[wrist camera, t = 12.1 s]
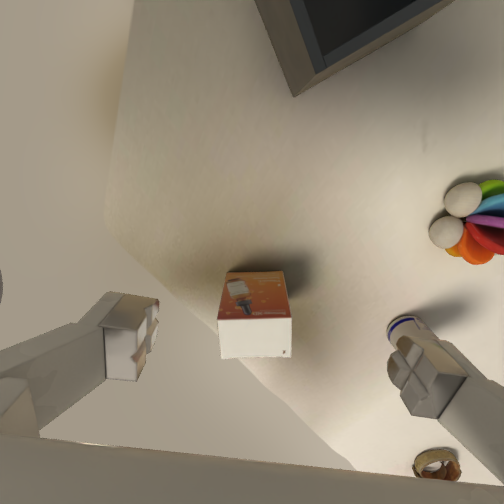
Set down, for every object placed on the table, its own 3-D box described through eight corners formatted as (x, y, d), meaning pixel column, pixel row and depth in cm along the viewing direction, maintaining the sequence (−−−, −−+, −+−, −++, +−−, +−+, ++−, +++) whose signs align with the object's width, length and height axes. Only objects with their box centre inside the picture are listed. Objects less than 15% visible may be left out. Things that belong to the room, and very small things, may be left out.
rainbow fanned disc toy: (415, 244, 35) (454, 269, 28) (451, 170, 31) (505, 178, 24) (473, 256, 35) (525, 283, 29) (515, 184, 32) (586, 196, 25)
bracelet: (413, 476, 56) (421, 494, 53) (407, 453, 52) (415, 470, 50) (455, 467, 54) (466, 484, 52) (452, 443, 51) (463, 460, 49)
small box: (283, 269, 36) (294, 317, 26) (282, 303, 38) (293, 358, 29) (225, 271, 36) (215, 319, 27) (228, 305, 38) (220, 361, 29)
